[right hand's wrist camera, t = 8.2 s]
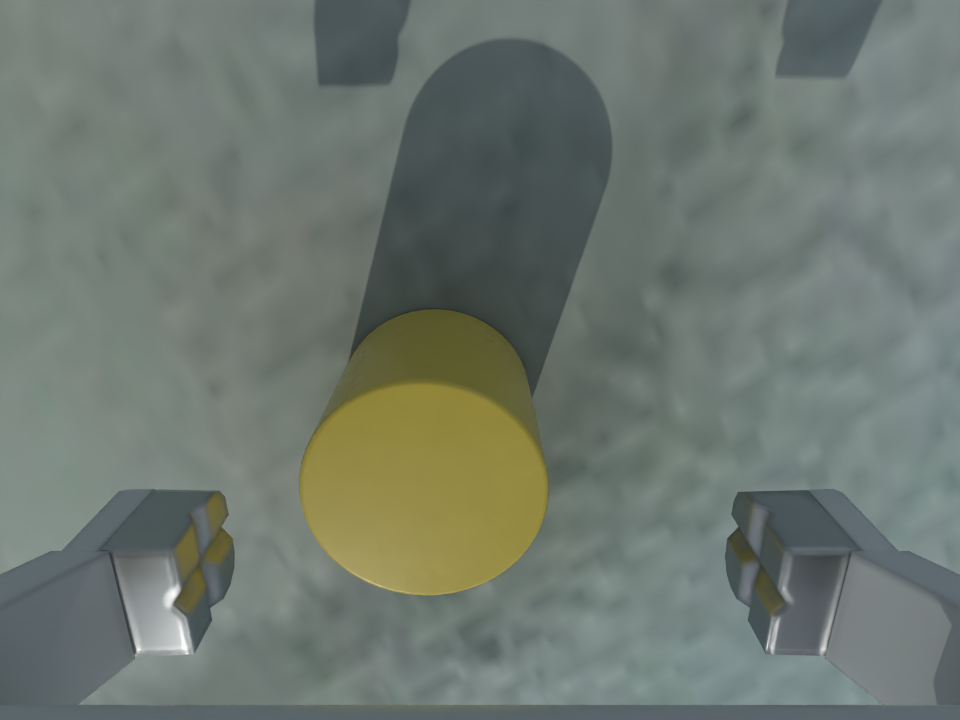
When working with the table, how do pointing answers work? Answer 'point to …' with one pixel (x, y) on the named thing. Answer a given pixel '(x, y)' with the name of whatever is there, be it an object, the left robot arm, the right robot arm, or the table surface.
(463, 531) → the canister
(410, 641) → the table surface
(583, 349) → the table surface
